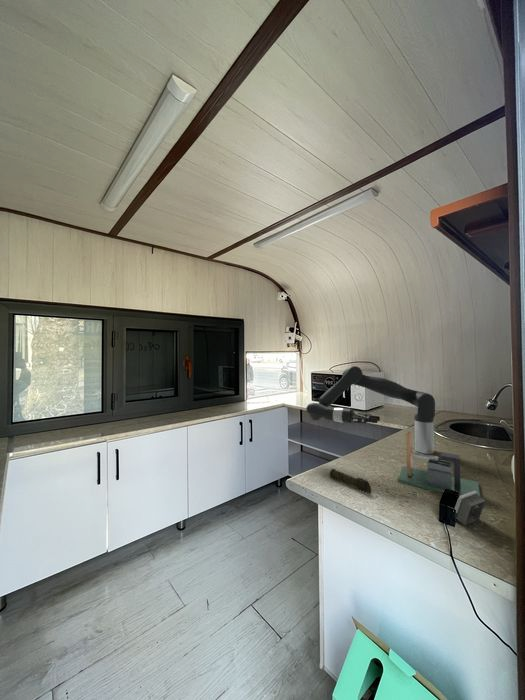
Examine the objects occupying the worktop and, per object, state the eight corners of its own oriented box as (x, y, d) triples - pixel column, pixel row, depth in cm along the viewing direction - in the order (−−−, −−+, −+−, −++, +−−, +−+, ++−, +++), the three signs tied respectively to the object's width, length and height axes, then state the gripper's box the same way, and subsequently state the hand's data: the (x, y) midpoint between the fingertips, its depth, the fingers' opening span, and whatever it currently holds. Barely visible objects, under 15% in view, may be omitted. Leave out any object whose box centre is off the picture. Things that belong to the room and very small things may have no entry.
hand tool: (329, 478, 120) (328, 468, 120) (334, 476, 122) (334, 466, 122) (366, 496, 104) (366, 485, 104) (372, 493, 107) (372, 482, 107)
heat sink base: (403, 468, 129) (403, 441, 129) (477, 484, 112) (477, 454, 112) (397, 481, 116) (397, 451, 116) (480, 502, 99) (479, 467, 99)
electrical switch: (468, 512, 93) (470, 487, 92) (485, 522, 88) (487, 496, 87) (450, 519, 89) (452, 493, 88) (467, 530, 84) (470, 502, 84)
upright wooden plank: (409, 470, 123) (408, 431, 123) (438, 477, 116) (437, 435, 116) (407, 475, 118) (406, 434, 118) (438, 482, 111) (437, 439, 111)
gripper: (338, 410, 132) (374, 414, 122) (347, 405, 144) (381, 409, 134) (338, 425, 132) (375, 431, 122) (348, 419, 144) (382, 424, 134)
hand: (378, 419), depth 128 cm, fingers open, 4 cm apart
